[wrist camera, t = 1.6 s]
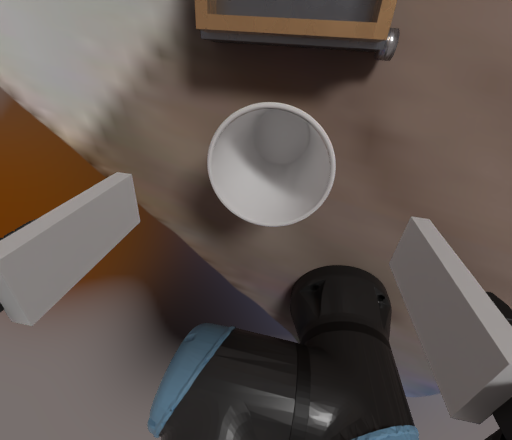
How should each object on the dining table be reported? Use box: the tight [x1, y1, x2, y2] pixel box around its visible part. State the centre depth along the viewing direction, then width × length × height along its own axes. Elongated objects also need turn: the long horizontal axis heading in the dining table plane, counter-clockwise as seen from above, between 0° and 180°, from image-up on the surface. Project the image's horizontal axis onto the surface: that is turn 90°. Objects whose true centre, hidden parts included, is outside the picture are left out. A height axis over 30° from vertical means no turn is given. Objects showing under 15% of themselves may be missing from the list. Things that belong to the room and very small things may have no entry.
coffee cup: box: [207, 102, 336, 227], centre depth 26 cm, size 10×10×12 cm
